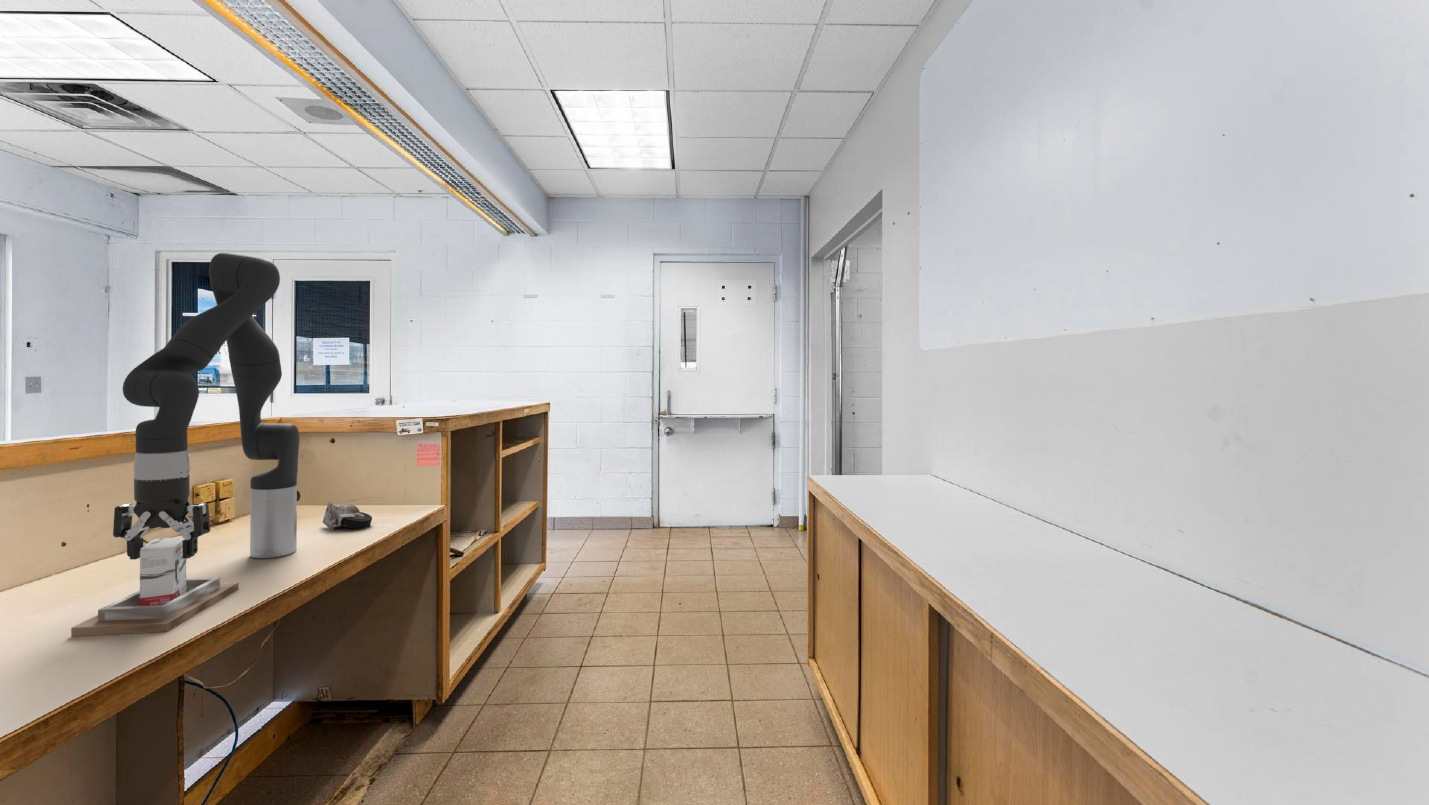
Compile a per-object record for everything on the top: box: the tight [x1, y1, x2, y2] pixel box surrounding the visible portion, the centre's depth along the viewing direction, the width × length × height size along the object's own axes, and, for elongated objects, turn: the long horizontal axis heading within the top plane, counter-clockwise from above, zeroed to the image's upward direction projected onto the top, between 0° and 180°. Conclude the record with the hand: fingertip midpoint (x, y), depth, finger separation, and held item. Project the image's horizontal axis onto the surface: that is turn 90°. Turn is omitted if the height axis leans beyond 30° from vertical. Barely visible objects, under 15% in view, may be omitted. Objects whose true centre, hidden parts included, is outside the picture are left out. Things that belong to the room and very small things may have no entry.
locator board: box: [70, 577, 240, 637], centre depth 107 cm, size 20×14×4 cm
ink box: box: [139, 536, 187, 606], centre depth 106 cm, size 9×5×12 cm, turn 32°
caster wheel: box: [322, 501, 373, 531], centre depth 167 cm, size 7×11×10 cm
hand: (163, 557), depth 106 cm, fingers open, 8 cm apart
